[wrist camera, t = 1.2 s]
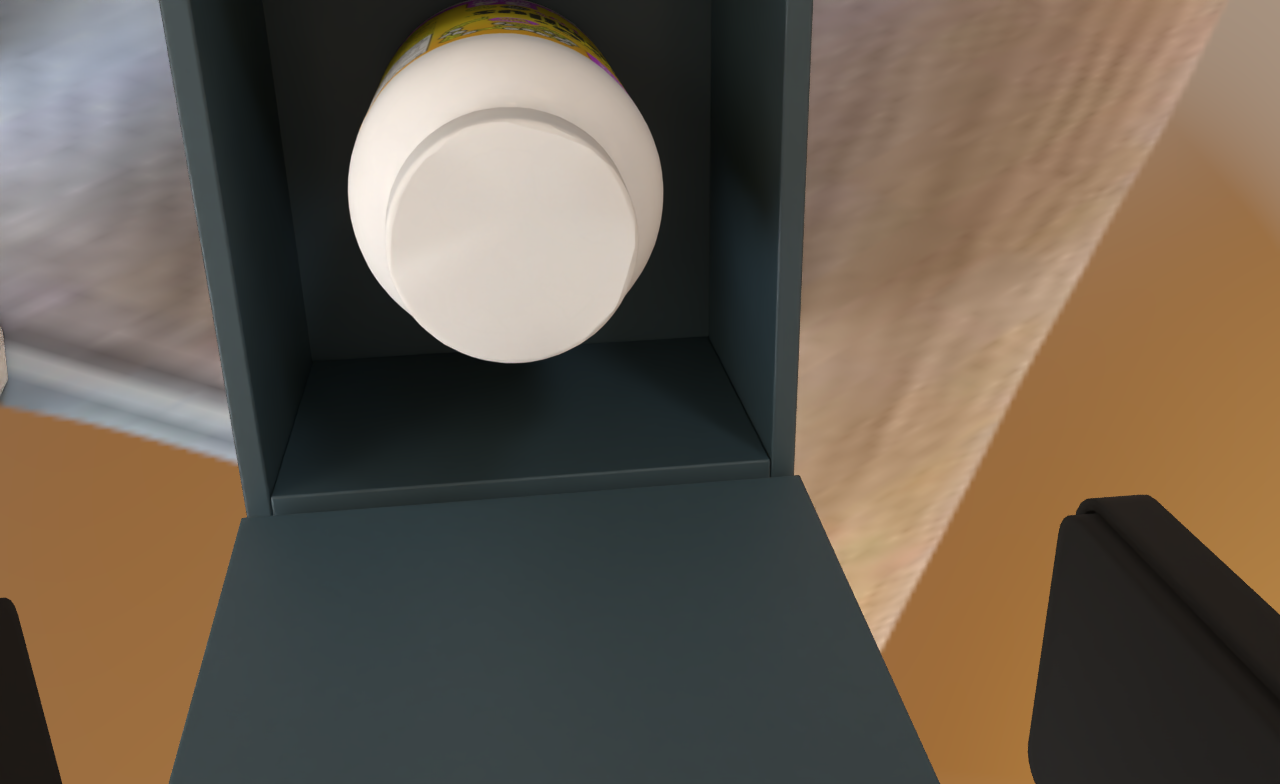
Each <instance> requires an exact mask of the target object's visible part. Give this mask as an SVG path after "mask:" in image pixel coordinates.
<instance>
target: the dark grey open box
mask: <svg viewBox="0 0 1280 784" xmlns="http://www.w3.org/2000/svg"><path fill="white" fill-rule="evenodd" d="M464 1H468V0H159V3H160V9H161V15H162V21H163V27H164V33H165V39H166V44H167V50H168V56H169V62H170V68H171V74H172V80H173V85H174V91H175V97H176V103H177V109H178V115H179V121H180V126H181V132H182V138H183V144H184V150H185V156H186V162H187V167H188V173H189V179H190V185H191V191H192V197H193V203H194V208H195V214H196V220H197V226H198V232H199V238H200V244H201V249H202V255H203V261H204V267H205V273H206V279H207V285H208V290H209V296H210V302H211V308H212V314H213V320H214V326H215V331H216V337H217V343H218V349H219V355H220V361H221V367H222V372H223V378H224V384H225V390H226V396H227V402H228V408H229V413H230V419H231V425H232V431H233V437H234V443H235V449H236V454H237V460H238V466H239V472H240V478H241V483H242V490H243V495H244V501H245V507H246V513H247V518H248V517H261V516H274V515H287V514H300V513H313V512H326V511H340V510H353V509H366V508H379V507H392V506H405V505H418V504H431V503H444V502H457V501H470V500H483V499H496V498H509V497H522V496H535V495H548V494H561V493H574V492H587V491H600V490H613V489H626V488H639V487H652V486H665V485H678V484H691V483H704V482H717V481H730V480H743V479H756V478H769V477H782V476H794V458H795V434H796V409H797V384H798V360H799V335H800V310H801V286H802V261H803V237H804V212H805V187H806V163H807V138H808V113H809V89H810V64H811V40H812V15H813V0H526V1H530V2H533V3H536V4H539V5H542V6H544V7H547V8H549V9H551V10H553V11H555V12H557V13H558V14H560V15H562V16H563V17H565V18H566V19H568V20H569V21H571V22H572V23H574V24H575V25H576V26H577V27H578V28H579V29H580V30H581V31H582V32H583V33H584V34H585V35H586V36H587V37H588V38H589V39H590V40H591V41H592V42H593V43H594V45H595V46H596V47H597V48H598V49H599V51H600V52H601V53H602V55H603V56H604V58H605V59H606V61H607V62H608V64H609V66H610V67H611V69H612V70H613V72H614V73H615V75H616V76H617V78H618V79H619V81H620V82H621V84H622V86H623V87H624V89H625V90H626V92H627V93H628V95H629V96H630V98H631V99H632V100H633V102H634V103H635V105H636V106H637V108H638V110H639V111H640V113H641V115H642V116H643V118H644V120H645V122H646V124H647V126H648V128H649V130H650V132H651V135H652V137H653V140H654V143H655V146H656V149H657V152H658V155H659V159H660V164H661V170H662V180H663V209H662V216H661V222H660V227H659V232H658V235H657V239H656V242H655V245H654V248H653V250H652V252H651V255H650V257H649V260H648V262H647V263H646V265H645V267H644V269H643V271H642V272H641V274H640V276H639V277H638V279H637V280H636V282H635V283H634V285H633V286H632V287H631V289H630V290H629V291H628V293H627V294H626V295H625V297H624V298H623V300H622V302H621V304H620V305H619V307H618V308H617V310H616V311H615V313H614V314H613V315H612V317H611V318H610V319H609V320H608V321H607V323H606V324H605V325H604V326H603V327H602V328H601V329H600V330H598V331H597V332H596V333H595V334H594V335H592V336H591V337H590V338H588V339H587V340H585V341H584V342H583V343H581V344H579V345H578V346H576V347H574V348H572V349H570V350H568V351H566V352H564V353H561V354H559V355H556V356H553V357H550V358H547V359H543V360H538V361H533V362H525V363H501V362H494V361H487V360H482V359H478V358H475V357H471V356H469V355H466V354H463V353H461V352H459V351H457V350H455V349H453V348H451V347H449V346H447V345H445V344H443V343H442V342H440V341H439V340H438V339H436V338H435V337H434V336H432V335H431V334H430V333H429V332H428V331H426V330H425V329H424V328H423V327H422V326H421V325H420V324H419V323H418V322H417V321H416V320H415V319H414V317H413V316H412V315H410V314H409V313H408V312H407V311H406V310H404V309H403V308H402V307H401V306H400V305H399V304H398V303H397V302H396V301H395V300H394V299H393V298H391V297H390V295H389V294H388V293H387V292H386V291H385V289H384V288H383V287H382V286H381V285H380V283H379V282H378V281H377V279H376V278H375V276H374V275H373V273H372V272H371V270H370V268H369V267H368V264H367V262H366V260H365V258H364V256H363V254H362V252H361V250H360V247H359V245H358V242H357V239H356V236H355V233H354V229H353V225H352V221H351V216H350V210H349V201H348V175H349V168H350V161H351V156H352V152H353V149H354V145H355V142H356V139H357V135H358V133H359V130H360V127H361V125H362V123H363V120H364V118H365V116H366V114H367V112H368V109H369V107H370V105H371V102H372V100H373V98H374V95H375V93H376V91H377V88H378V86H379V84H380V82H381V79H382V77H383V75H384V72H385V70H386V68H387V67H388V65H389V63H390V61H391V60H392V58H393V56H394V55H395V53H396V52H397V50H398V48H399V47H400V46H401V44H402V43H403V42H404V41H405V40H406V39H407V37H408V36H409V35H410V34H411V33H412V32H413V31H414V30H415V29H416V28H417V27H418V26H419V25H421V24H422V23H423V22H424V21H426V20H427V19H428V18H430V17H431V16H433V15H434V14H436V13H438V12H439V11H441V10H443V9H445V8H447V7H450V6H452V5H455V4H457V3H461V2H464Z"/></svg>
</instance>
